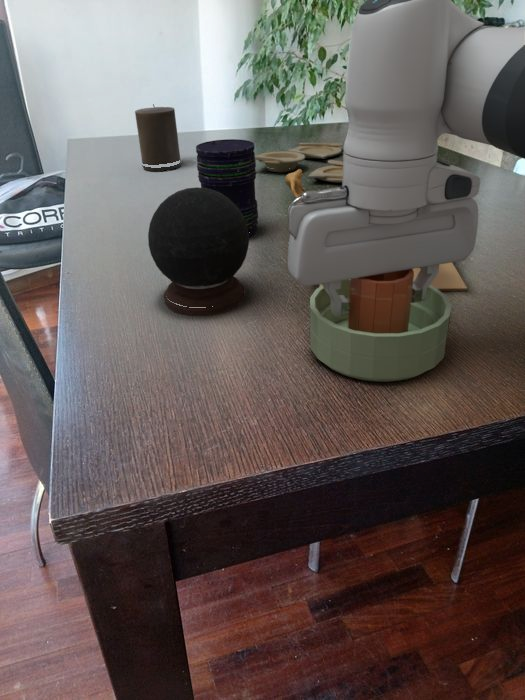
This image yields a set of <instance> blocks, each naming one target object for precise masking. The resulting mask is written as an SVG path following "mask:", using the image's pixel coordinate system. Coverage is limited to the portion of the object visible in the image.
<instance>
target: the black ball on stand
mask: <svg viewBox="0 0 525 700" xmlns="http://www.w3.org/2000/svg"><path fill="white" fill-rule="evenodd" d="M147 238H148V241H147V242H148V249H149V252H150V256H151V259H152V260H153V262H154V264H155V266H156V268H157V269H158V270H159V271H160V272H161V274H162V275H164V276H165V277H166V278H167V279H168V280H170V281H171V282H170V283H169V284H168V286H167V288H166V290H165V291H164V293H163V301H164V304H165V306H166V308H167V309H169V310H171V311H172V312H173V313H177V314H180V315H184V316H193V317H195V316H196V317H197V316H199V317H201V316H203V317H205V316H213V315H217V314H222V313H225V312H228V311H230V310H232V309H235V308H236V307H238V306H239V305H240V304H242V303H243V301H244V300H245V297H246V292H245V291H246V290H245V286H244V285H243V284H242V283H241V281H240V280H239V279H238V278H237V277H236V274H237V273H238V272H239V270H240V269H241V268H242V266H243V264H244V262H245V260H246V258H247V255H248V250H249V244H250V243H249V241H250V239H249V234H248V228H247V225H246V222H245V219H244V217H243V215H242V213H241V211H240V210H239V208H238V207H237V206H236V205H235V204H234V203H233V202H232V201H231V200H230V199H229V198H227V197H226V196H224V195H223V194H221V193H220V192H217V191H214V190H212V189H208V188H201V187H189V188H185V189H181V190H178V191H175V192H174V193H172V194H171V195H168V197H166V198H165V199H164V200H163V201H162V202H161V203H160V204H159V205H158V206H157V208H156V210H155V211H154V212H153V214H152V217H151V220H150V222H149V227H148V235H147ZM166 296H167V297H166ZM167 298H168V299H169V300H170V301H172V302H174V303H177V304H180V305H183V306H187V307H183V306H179V305H176V304H174V303H172V302H170V301H169V300H168V299H167ZM212 306H213V307H212ZM189 307H206V308H189Z"/></svg>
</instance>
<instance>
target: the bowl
mask: <svg viewBox="0 0 525 700" xmlns="http://www.w3.org/2000/svg"><path fill="white" fill-rule="evenodd" d="M414 281H415V279H413V283H414ZM336 292H337V293H338V295H344V296H345V298H346V299H348V298H349V279H348V280H342V281H341V288H340V289H338V290H337V289H336ZM451 316H452V304H451V302H450V300H449V297H448V296H447V295H446V294H445V293H443V291H439V290H438V289H437V288H435V287H433V286H431V285H429V287H428V288H427V291H426V299H425V301H421V302H416V303H411V307H410V316H409V325H408V332H404V333H381V334H376V333H369V332H362V331H356V330H352V329H349V328H347V322H348V315H344V316H339V317H335V316H334V315H333V314H332V312H331V298H330V297H329V295H328V293H327V292H326V290H325V289H324V287H323V286H318V288H316V289H314V292H313V293H312V294H311V296H310V297H309V348H310V350H311V352H312V353H313V354H314V356H315V357H316V359H317V360H319V361H320V362H322V363H323V364H324V365H326V366H327V367H328V368H329V369H331V370H332V371H334V372H336V373H338V374H341V375H342V376H345V377H349V378H353V379H356V380H361V381H367V382H376V383H377V382H378V383H379V382H380V383H381V382H382V383H385V382H386V383H387V382H398V381H404V380H409V379H412V378H416V377H418V376H421V375H423V374H424V373H425V372H428V371H430V370H432V369H434V368H435V367H437V365H439V363H440V362H441V361H442V360H443V359H444V357H445V353H446V349H447V343H448V342H447V340H448V335H449V329H450V328H449V327H450V322H451Z"/></svg>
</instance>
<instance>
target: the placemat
mask: <svg viewBox="0 0 525 700" xmlns="http://www.w3.org/2000/svg"><path fill="white" fill-rule="evenodd" d="M420 270H421V269H420V268H415V269H413V271H414V278H413V279H416V277H417V275H418V273H419V272H420ZM430 285H431V286H433V287H435V288H437V289H438V290H439V291H441V292H467V291H468V286H467V285H466V283H465V282H464V280H463V279H462V277H461V275H460V273H459V271H458V270H457V268H456V266H455V265H454V262H451V263H445V264H439V271H438V274H437V275H436V277H435V278H434V280H433V281H432V283H431V284H430ZM320 286H322V284H318V287H320Z"/></svg>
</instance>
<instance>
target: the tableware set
mask: <svg viewBox="0 0 525 700" xmlns="http://www.w3.org/2000/svg"><path fill="white" fill-rule="evenodd" d="M344 143H345V142H299V143H298V146H297V147H294V148H290V149H287V151H286V150H285V151H284V150H283V151H280V150H279V151H269V152H263V153H261V154H260V153H259V154H258V155H257V154H255V160H257V161H258V162H260V163H262V164H264V165H265V167H266V166H267V167H269V168H267V167H266V169H267V171H269V172H273V173H287V172H288V173H289V172H292V171H294V170H295V169H296V168H297V166H298V163H300V162H303V161H304V160H305V159H311V160H320V159H322V160H325V159H329V158H332V157H335V156H338V155H341V153H342V149H341V148H340V147H344ZM270 168H274V169H270ZM289 168H290V169H289ZM308 178H313V179H317V180H321V181H324V182H327V183H335V184H342V181H343V160H335V159H334V160H333V159H329V160H327V165H326V166H322V167H318V168H316V169H314V171H311V172H309V175H308Z"/></svg>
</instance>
